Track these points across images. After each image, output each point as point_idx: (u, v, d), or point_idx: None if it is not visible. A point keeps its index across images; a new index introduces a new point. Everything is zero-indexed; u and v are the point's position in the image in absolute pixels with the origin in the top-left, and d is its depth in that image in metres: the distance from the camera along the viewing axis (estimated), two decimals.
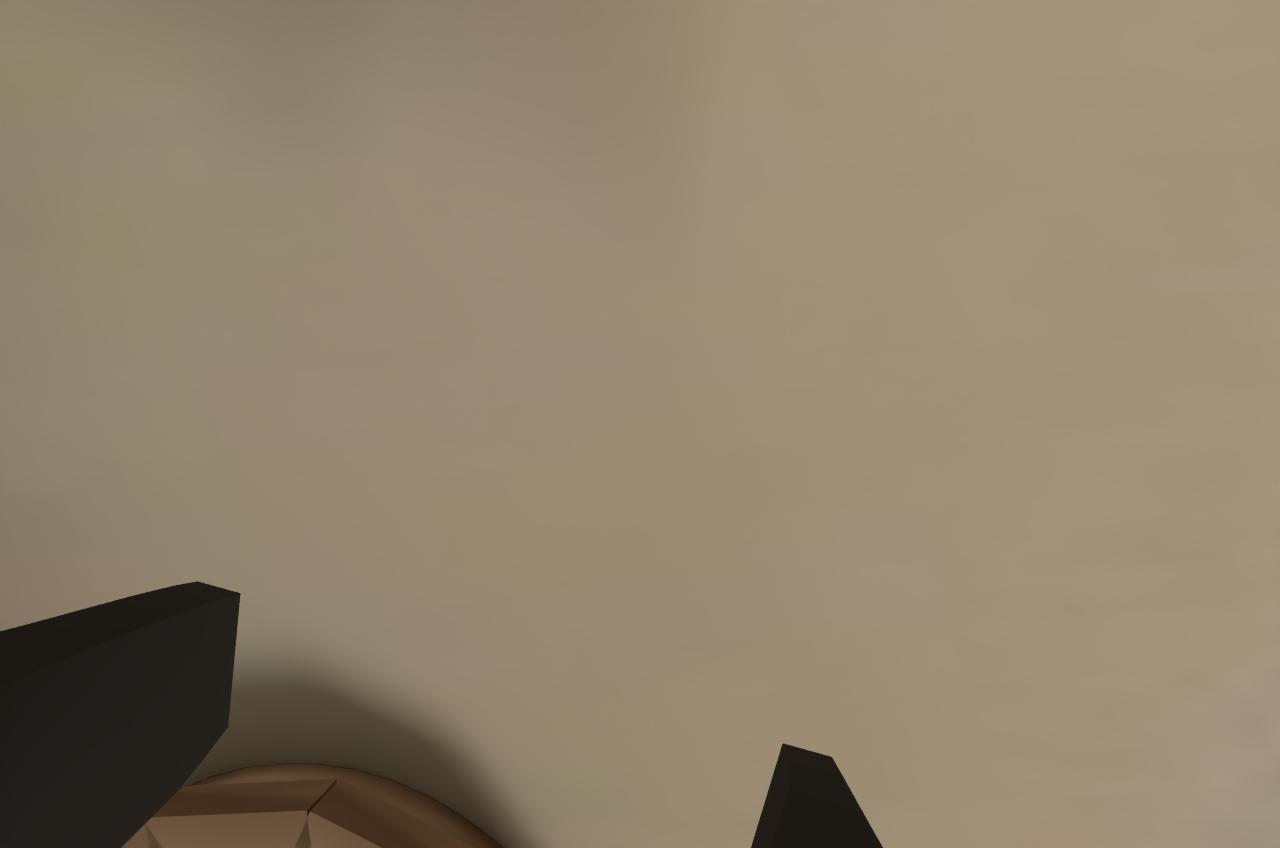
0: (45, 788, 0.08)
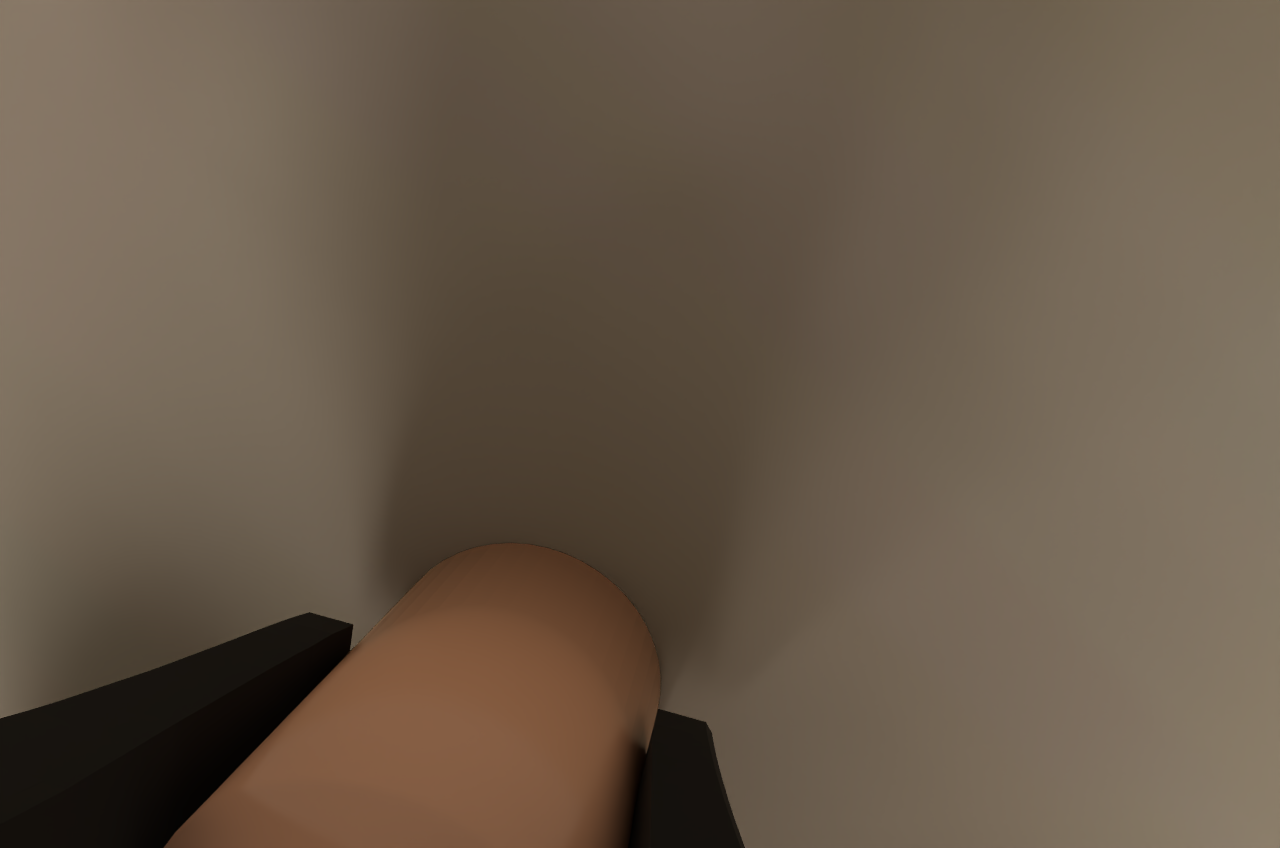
0: None
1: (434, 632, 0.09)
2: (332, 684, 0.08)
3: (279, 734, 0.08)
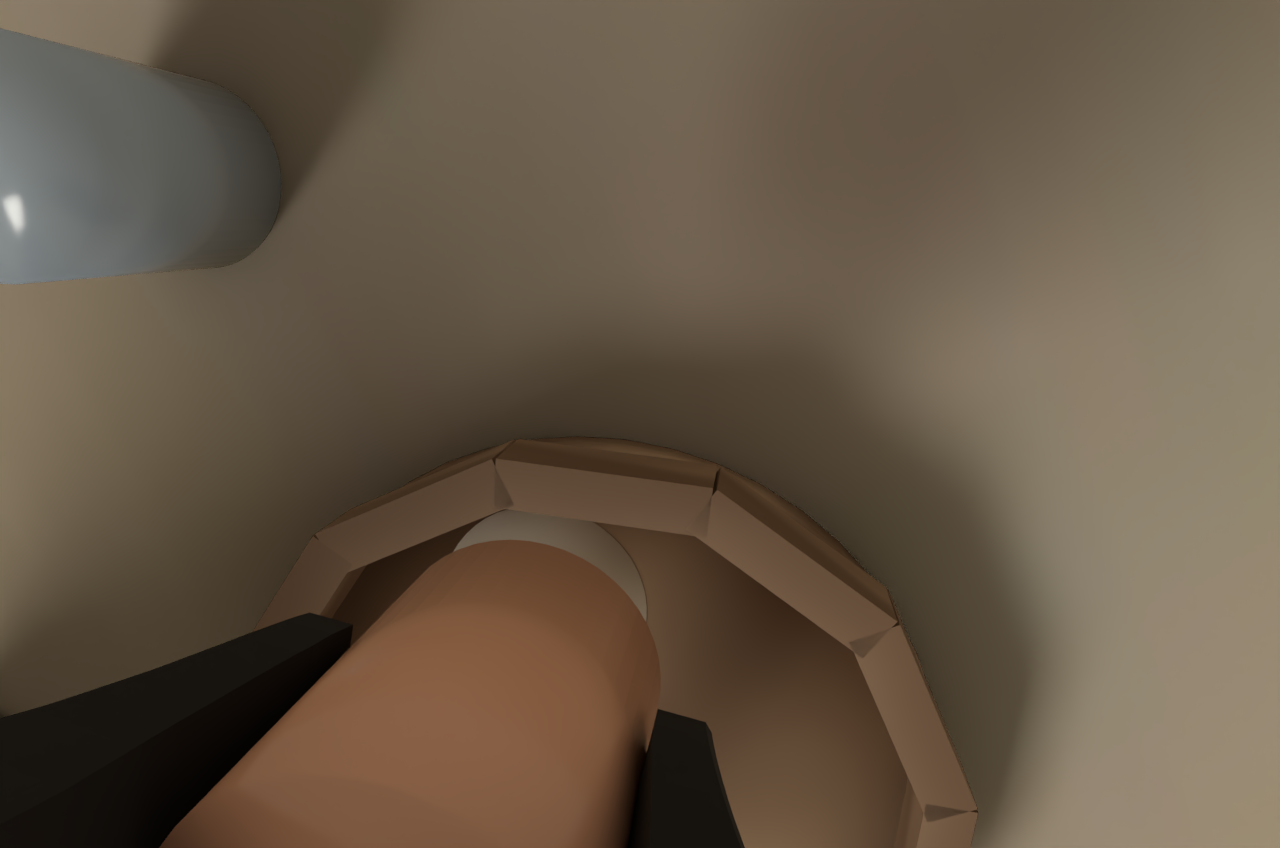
0: None
1: (434, 628, 0.09)
2: (332, 680, 0.08)
3: (278, 729, 0.07)
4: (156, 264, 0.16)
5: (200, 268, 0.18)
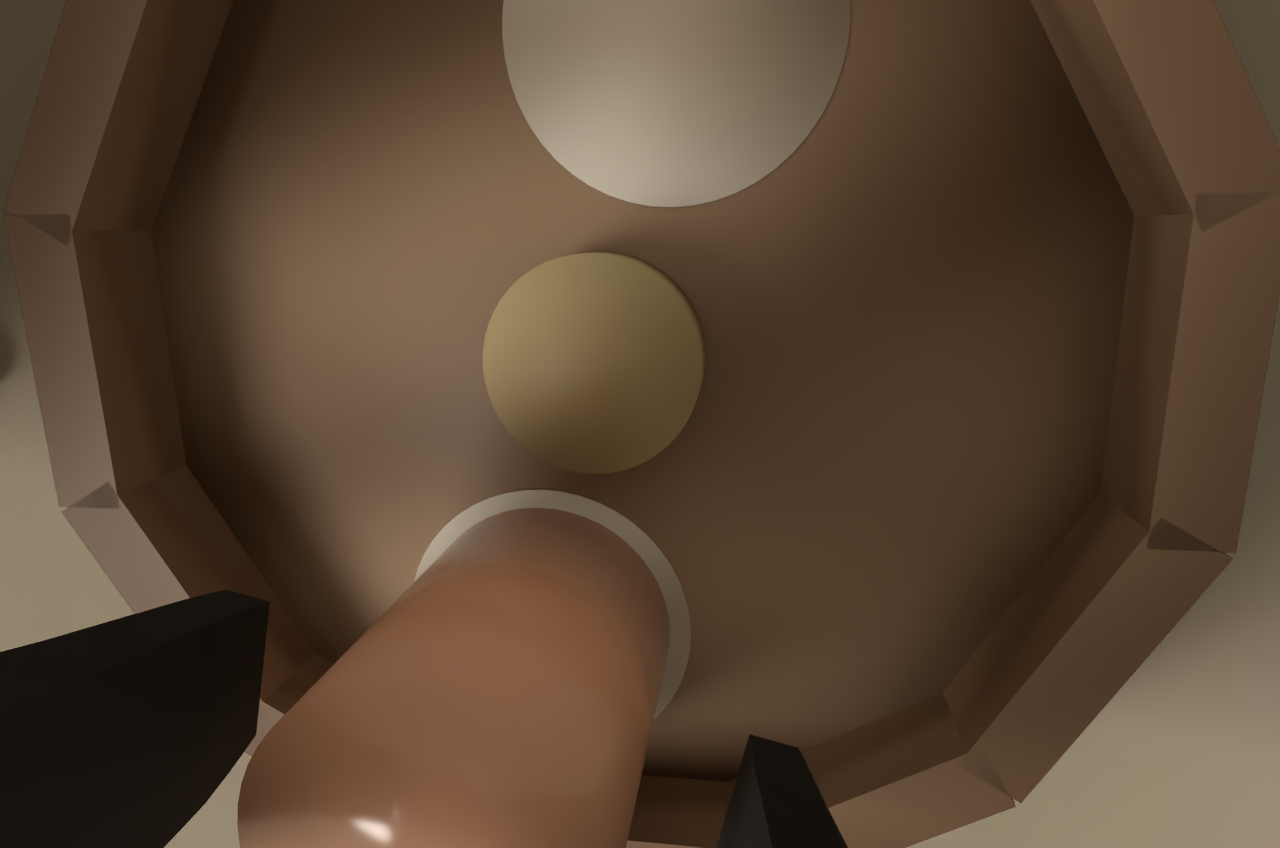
0: (83, 800, 0.08)
1: (475, 576, 0.10)
2: (391, 617, 0.10)
3: (351, 654, 0.09)
4: None
5: None
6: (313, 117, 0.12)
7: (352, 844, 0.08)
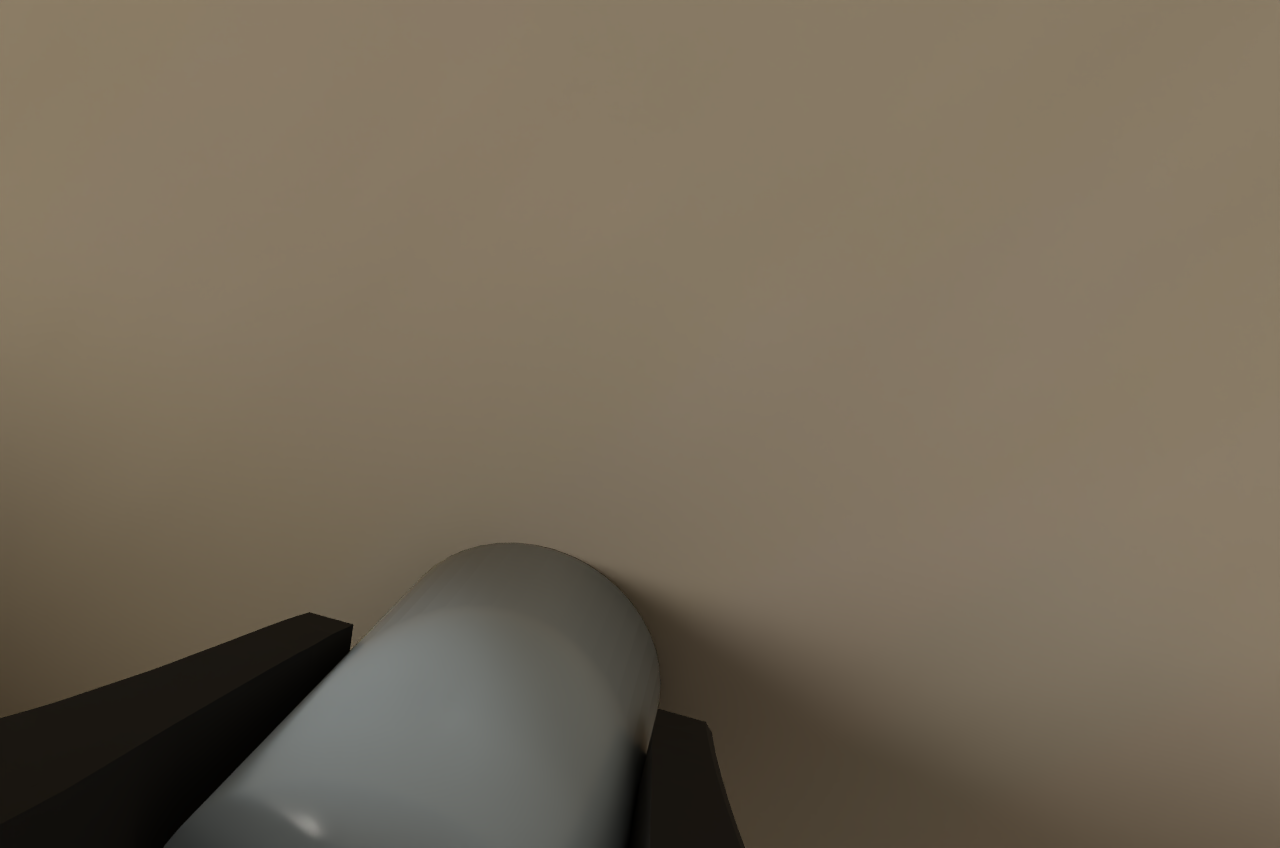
0: None
1: None
2: None
3: None
4: None
5: None
6: None
7: None
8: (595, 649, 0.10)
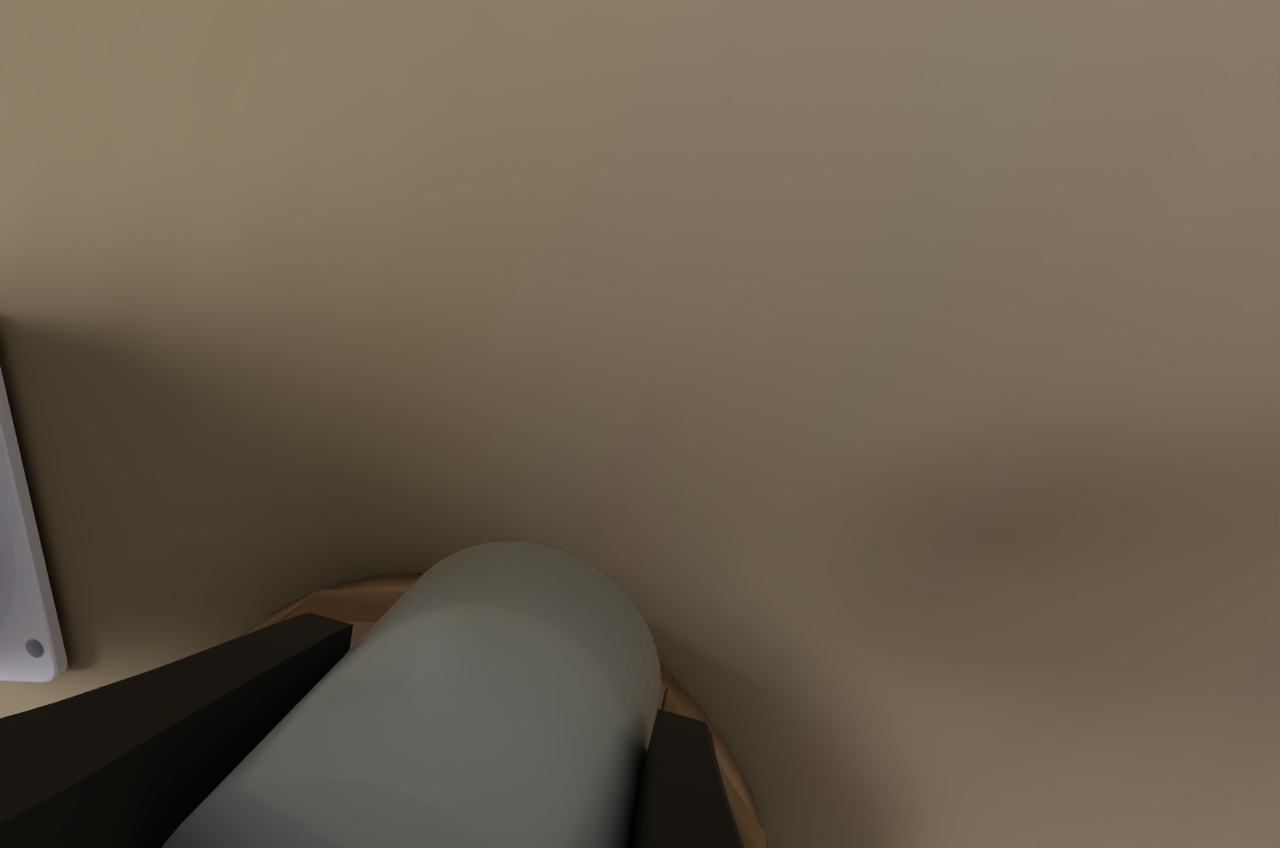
0: None
1: None
2: None
3: None
4: None
5: None
6: None
7: None
8: (595, 647, 0.10)
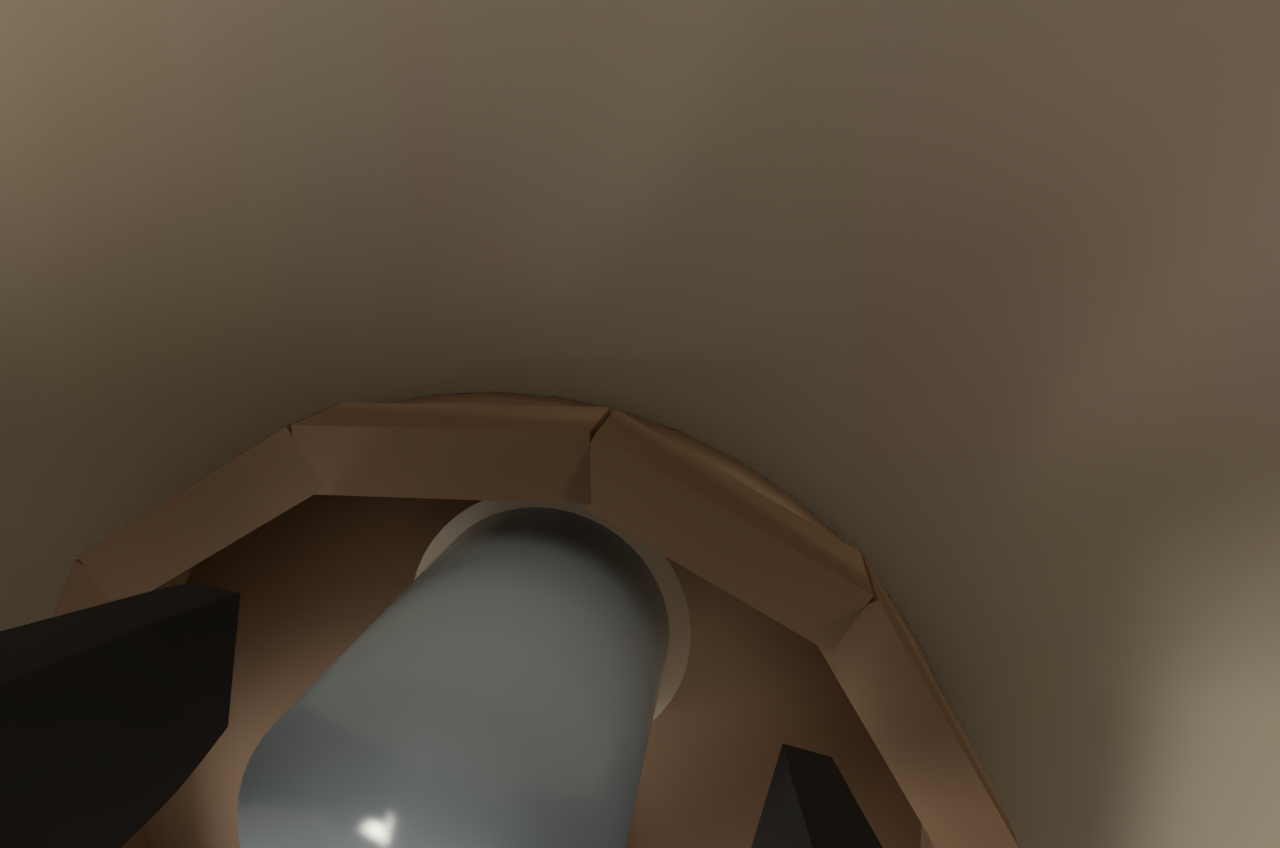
0: (45, 788, 0.08)
1: None
2: None
3: None
4: None
5: None
6: (258, 660, 0.14)
7: None
8: (613, 593, 0.11)
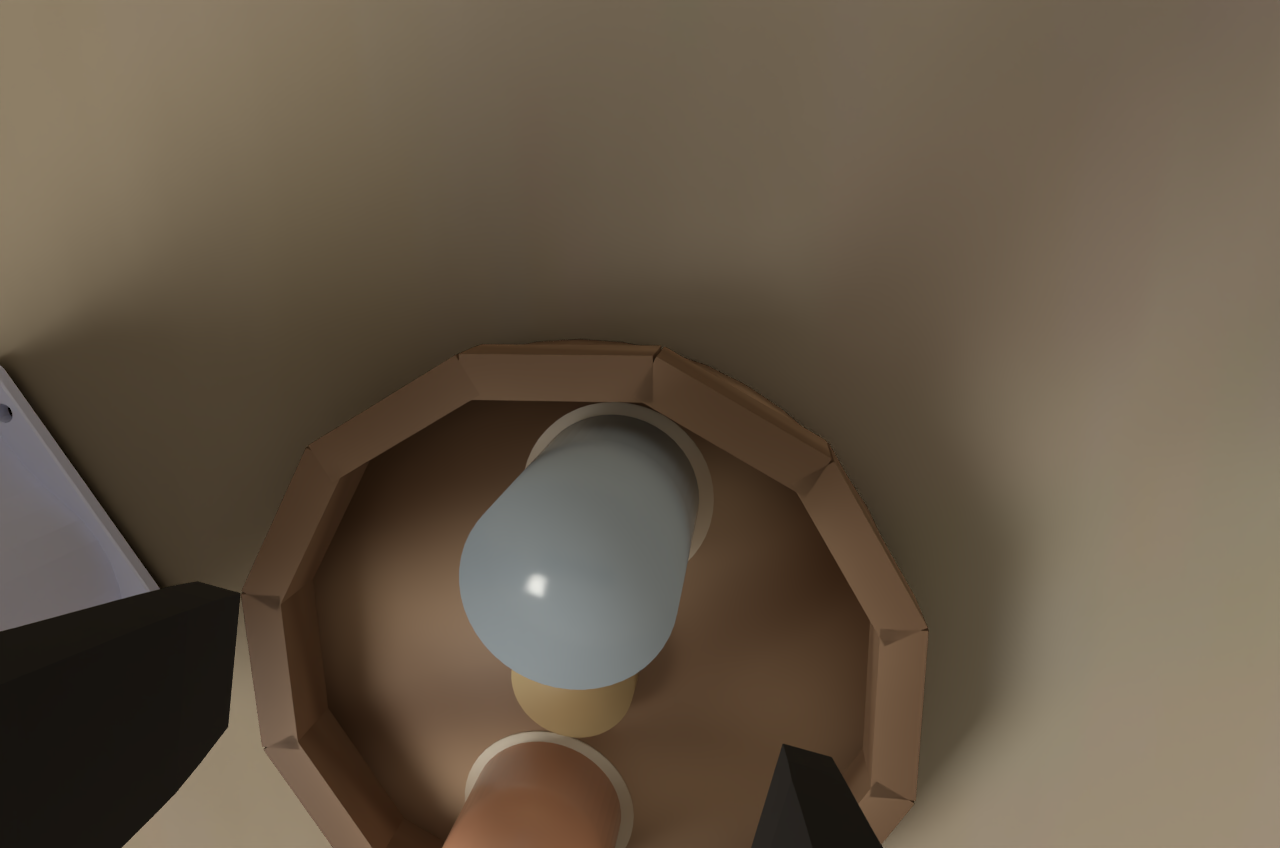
0: (45, 788, 0.08)
1: (509, 810, 0.19)
2: (465, 838, 0.18)
3: None
4: None
5: None
6: (412, 526, 0.20)
7: None
8: (667, 463, 0.17)
